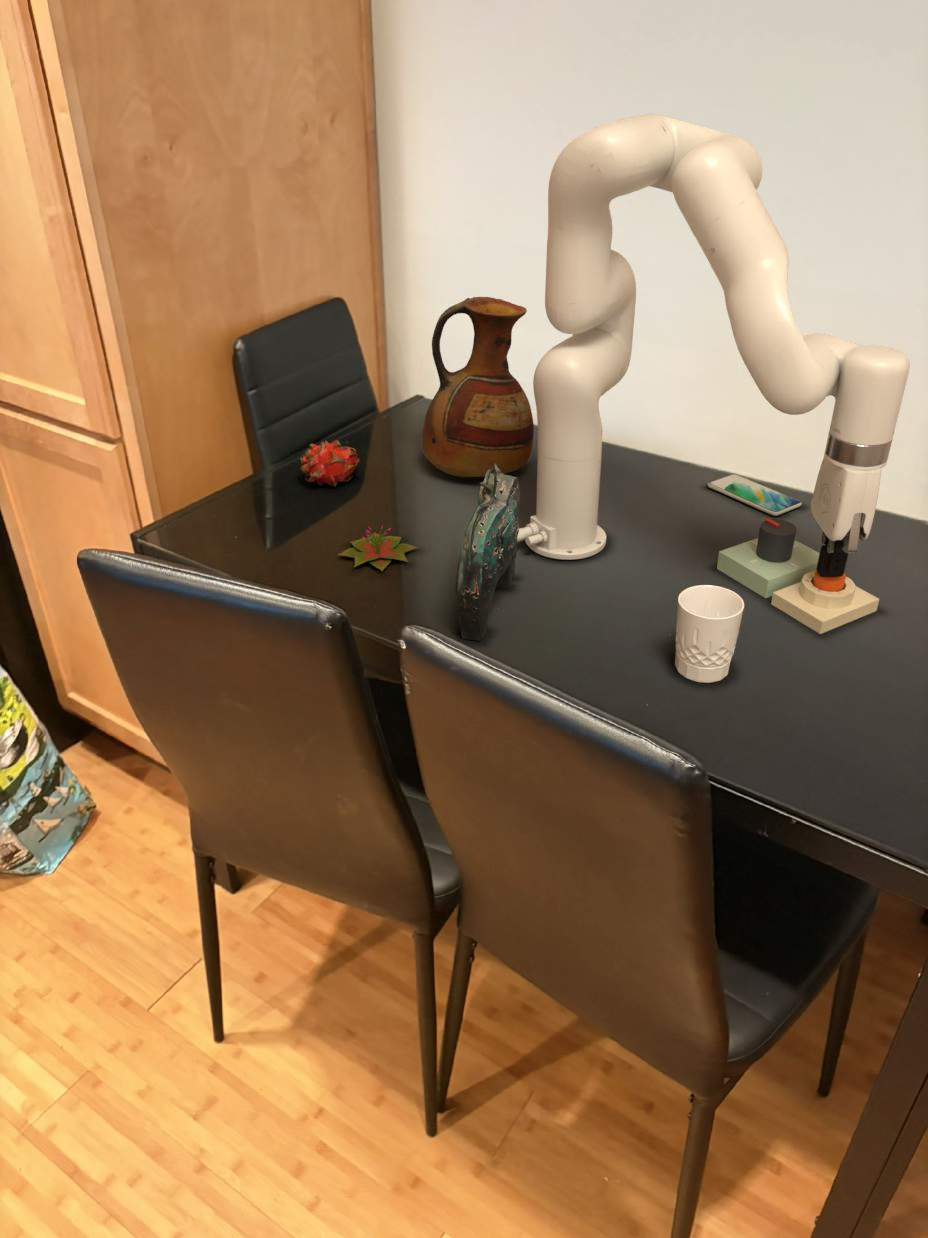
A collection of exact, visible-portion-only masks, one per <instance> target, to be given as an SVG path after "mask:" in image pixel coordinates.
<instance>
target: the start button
mask: <svg viewBox="0 0 928 1238" xmlns="http://www.w3.org/2000/svg"><path fill="white" fill-rule="evenodd" d="M846 577H847V575H846V573H844V574H843V576H841V577H821V576H820V575H819V572H818V571H817V570H816V571H815V575H814V580H813V585H814V586H815V587H816V588H818V589H820V590H823V591H828V592H839V591H841V590H843V588H844V583H845V579H846Z"/></svg>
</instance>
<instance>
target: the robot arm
mask: <svg viewBox="0 0 928 1238" xmlns="http://www.w3.org/2000/svg"><path fill="white" fill-rule="evenodd" d="M762 163H763V162H762V159H761V156H760V154H759V151H758V150H757V148H756V147H755V146H754V144H752V143H751V142H750V141H749V140H748V139H745V138H744V137H742V136H740V135H736V134H733V133H730V132H726V131H723V130H719V129H714V128H711V127H706V126H703V125H699V124H696V123H692V122H688V121H684V120H680V119H678V118H673V117H670V116H667V115H666V116H665V115H661V114H654V113H648V114H647V113H646V114H638V115H635V116H632V117H627V118H621V119H617V120H613V121H610V122H606V123H604V124H600V125H598V126H596V127H593V128H591V129H589V130H587V131H585V132H584V133H582V134H580V135H578V136H577V137H575V138H574V139H572V140H571V141H570V142H569V143H568V144H567V145H566V146H565V147H564V148H563V149H562V151H560V153H559V155H558V156H557V158H556V159H555V162H554V164H553V166H552V169H551V172H550V176H549V181H548V189H547V214H548V215H547V225H548V226H547V239H546V259H545V261H546V263H545V288H544V290H545V291H544V308H545V313H546V317H547V319H548V321H549V323H550V324H551V325H552V327H553V328H554V329H556V330H557V331H558V332H559V333H563V334H566V335H571V336H569V337H567V338H565V339H564V340H562V341H561V342H559V343H557V344H555V345H553V346H552V347H551V348H550V349H549V350H548V351H546V353H544V354H543V356H542V357H541V358H540V360H539V361H538V363H537V365H536V368H535V370H534V373H533V381H532V382H533V383H532V385H533V386H532V387H533V395H534V401H535V408H536V419H537V466H536V467H537V470H536V505H535V507H536V508H535V509H536V510H535V514H533V515H531V516H530V517H529V523H527V524H525V527H519V533H518V536H517V543H519V542H523V541H525V544H526V545H527V547H528V548H529V549H530V550H531V551H533V552H535V553H536V554H537V555H540V556H543V557H546V558H549V559H554V560H563V561H572V560H573V561H574V560H581V559H586V558H590V557H592V556H595V555H597V554H599V553H600V552H601V551H603V550H604V548H605V547H606V544H607V532H605V530H604V529H603V528H602V527H601V526H600V525H599V524H598V521H599V520H598V518H599V504H600V503H599V501H600V487H601V485H600V484H601V473H602V472H601V471H602V470H601V468H602V455H603V454H602V453H603V424H602V419H601V418H602V417H601V414H600V407H599V405H600V399H601V397H602V396H604V395H605V394H606V393H607V392H609V391H610V390H611V389H613V388H614V387H615V386H616V385H618V384H619V383H620V382H621V381H622V379H623V378H624V377H625V375H626V373H627V372H628V370H629V367H630V362H631V359H632V349H633V340H634V338H633V337H634V328H635V314H636V303H637V281H636V277H635V274H634V271H633V270H634V269H633V268H632V266H631V264H630V263H629V261H628V260H627V258H626V257H624V255H623V254H621V253H620V252H618V251H616V250H613V249H612V241H613V220H612V219H613V218H612V215H611V214H612V213H611V210H610V204H611V202H612V201H613V200H614V199H616V198H619V197H622V196H625V195H629V194H632V193H635V192H639V191H641V190H644V189H645V188H648V187H650V188H656V189H659V190H662V191H666V192H670V193H672V195H673V197H674V201H675V202H676V206H677V207H678V210H680V212H681V214H682V216H683V218H684V220H685V221H686V223H687V225H688V227H689V229H690V231H691V232H692V234H693V236H694V237H695V239H696V241H697V244H698V245H699V246H700V248H701V250H702V253H703V254H704V256H705V258H706V259H707V261H708V263H709V266H710V267H711V269H712V271H713V273H714V275H715V276H716V278H717V280H718V283H719V285H720V286H721V288H722V291H723V295H724V301H725V308H726V311H727V312H726V313H727V315H728V319H729V324H730V327H731V331H732V335H733V338H734V342H735V345H736V347H737V350H738V353H739V354H740V357H741V358H742V361H743V364H744V365H745V367H746V368H747V371H748V372H749V374H750V376H751V378H752V379H753V381H754V383H755V385H756V386H757V388H758V390H759V391H760V393H761V395H762V396H763V397H764V399H765V401H767V402H768V403H769V404H770V405H771V406H772V408H774V409H776V410H777V411H779V412H781V413H782V414H783V413H784V414H785V415H790V416H791V415H793V416H799V415H804V414H806V413H809V412H811V411H813V410H815V409H816V408H817V407H819V405H821V404H822V403H823V401H824V400H825V399H826V398H827V397H829V396H832V397H834V404H833V405H834V406H833V411H832V415H831V421H830V424H829V430H828V434H827V440H826V444H825V448H824V450H825V451H824V453H823V458H822V461H821V464H820V467H819V470H818V473H817V478H816V481H815V484H814V489H813V493H812V497H811V501H810V507H809V509H810V513H811V515H812V517H813V519H814V520H815V522H816V523H817V524H818V526H819V528H820V529H821V531H822V533H821V544H822V545H820V550H819V553H820V554H819V559H818V563H817V568H816V570H817V571H818V572H819V575H820V576H821V577H841V576H843V574H845V570H846V566H847V561H848V558H849V554H857V552H858V548H859V540H860V541H863V542H864V541H866V540H867V539H868V538H869V536H870V533H871V530H872V526H873V523H874V519H875V514H876V510H877V509H876V508H877V503H878V499H879V491H880V485H881V476H882V468H884V467H885V466H886V465H887V463H888V460H889V456H890V451H891V447H892V444H893V438H894V434H895V431H896V426H897V423H898V418H899V414H900V411H901V405H902V402H903V398H904V394H905V389H906V385H907V381H908V379H909V378H908V377H909V373H910V367H911V365H910V359H909V357H908V356H907V355H906V353H904V352H902V351H901V350H898V349H896V348H893V347H888V346H884V345H883V346H882V345H862V344H860V343H859V344H858V343H855V342H852V341H849V340H847V339H842V338H840V337H837V336H834V335H830V334H826V333H808V334H806V335H804V336H803V335H802V333H801V331H800V329H799V326H798V324H797V322H796V320H795V317H794V314H793V310H792V308H791V304H790V299H789V291H788V277H789V267H790V265H789V264H790V263H789V262H790V261H789V252H788V247H787V245H786V242H785V241H784V239H783V238H782V235H781V233H780V232H779V230H778V228H777V226H776V224H775V223H774V221H773V219H772V217H771V215H770V213H769V211H768V210H767V207H766V206H765V204H764V202H763V199H761V197H760V195H759V192H758V191H757V190H758V188H759V187H760V184H761V181H762V177H763V164H762Z"/></svg>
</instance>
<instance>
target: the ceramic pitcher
mask: <svg viewBox="0 0 928 1238" xmlns="http://www.w3.org/2000/svg"><path fill="white" fill-rule="evenodd" d="M527 312H528V310H527V307H524V306H522V305H518V304H515V303H512V302H510V301H506V300H504V299H502V298H495V297H491V296H472V297H467V298H465V299H464V300H461V301H459V302H458V303H455V304H454V305H451V306H449V307H448V308H447V309H445V310H444V311H443V313H441V315H440V316H439V317H438V319H437V322H436V324H435V327H434V329H433V334H432V338H431V351H432V352H431V353H432V358H433V361H434V365H435V367H436V372H437V374H438V380H439V387H438V390H437V392H435V394H434V396H433V398H432V399H431V401H430V403H429V406H428V407H427V410H426V413H425V416H424V420H423V426H422V434H421V435H422V436H421V437H422V438H421V445H422V452H423V454H424V456H425V457H426V459H427V460H428V461H429V462H430V463H431V465H433V466H434V467H435V468H436V469H438V470H440V471H441V472H443V473H445V474H448V475H450V476H454V477H459V478H485V475H486V473H487V471H488V470H489V469H491V468H492V469H495V466H494V463H495V464H496V465H497V466H498V468H499V469H500V471H501V472H502V473H503V474H505V475H506V474H508V473H512V472H514V471H517V470H519V469H521V468H523V467H525V465H527V463H528V462H529V460H530V457H531V454H532V450H533V444H534V430H535V426H534V417H533V413H532V408H531V404H530V401H529V398H528V396H527V394H526V392H525V391H524V389H523V387H522V386H521V384H520V382H519V381H518V380H517V379H516V378H515V377H514V376H513V374H511V372H510V367H509V361H508V353H509V351H510V349H511V346H512V335H513V328H514V326H515V325H516V323H517V322H518V321H519V320H520V319H521V318H523V317H524V316H525V315H526V314H527ZM458 314H465V315H467V316H468V317H469V319H470V320H471V323H472V327H473V344H472V350H471V353H470V357H469V359H468V361H467V363H466V364H465V366H464V367H462V368H460V369H458V370H456V371H449V370H448V369H447V368H446V366H445V363H444V361H443V358H442V353H441V339H442V335H443V331H444V328H445V325H446V323H447V322H448V320H450V319H451V318H452V317H453V316H455V315H458ZM492 473H493V472H491V474H492Z"/></svg>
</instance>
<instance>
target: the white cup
mask: <svg viewBox="0 0 928 1238" xmlns="http://www.w3.org/2000/svg"><path fill="white" fill-rule="evenodd" d="M744 602H745V601H744V599H743V598H742V597H741V595H739V594H738V593H736V592H735V591H733V590H731V589H729V588H726V587H723V586H718V585H711V584H700V585H694V586H690V587H686V588H685V589H683V590H682V591H681V592H680V593H679V595H678V597H677V607H676V608H677V610H676V612H677V613H676V624H675V625H676V626H675V657H674V666H675V668H676V670H677V672H678V674H679V675H681V676H683V678H686V679H688V680H690V681H693V682H697V683H704V684H705V683H706V684H711V683H715V682H716V683H717V682H720V681H722V680H723V679H725V677H726V678H727V676H728V675H729V671H730V667H731V663H732V658H733V656H734V654H735V649H736V646H737V640H738V639H739V634H740V628H741V623H742V618H743V614H744V610H745V603H744Z"/></svg>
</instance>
